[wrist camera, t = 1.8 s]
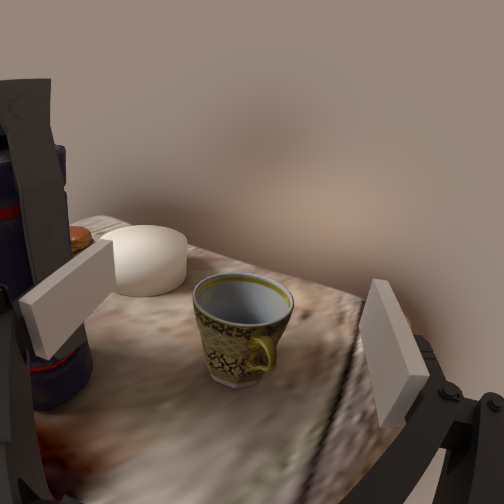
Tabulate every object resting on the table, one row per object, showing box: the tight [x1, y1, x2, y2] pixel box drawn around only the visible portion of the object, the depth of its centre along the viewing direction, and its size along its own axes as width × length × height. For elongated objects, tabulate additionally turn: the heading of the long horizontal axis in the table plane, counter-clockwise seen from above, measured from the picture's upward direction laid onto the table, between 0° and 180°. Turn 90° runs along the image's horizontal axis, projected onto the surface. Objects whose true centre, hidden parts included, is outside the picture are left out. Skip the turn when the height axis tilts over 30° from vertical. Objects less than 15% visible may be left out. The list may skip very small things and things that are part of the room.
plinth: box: [99, 225, 187, 297], centre depth 52 cm, size 15×15×6 cm
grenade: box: [0, 79, 93, 410], centre depth 23 cm, size 14×12×30 cm
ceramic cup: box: [192, 272, 294, 389], centre depth 33 cm, size 13×10×10 cm
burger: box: [69, 226, 94, 258], centre depth 57 cm, size 10×9×5 cm
